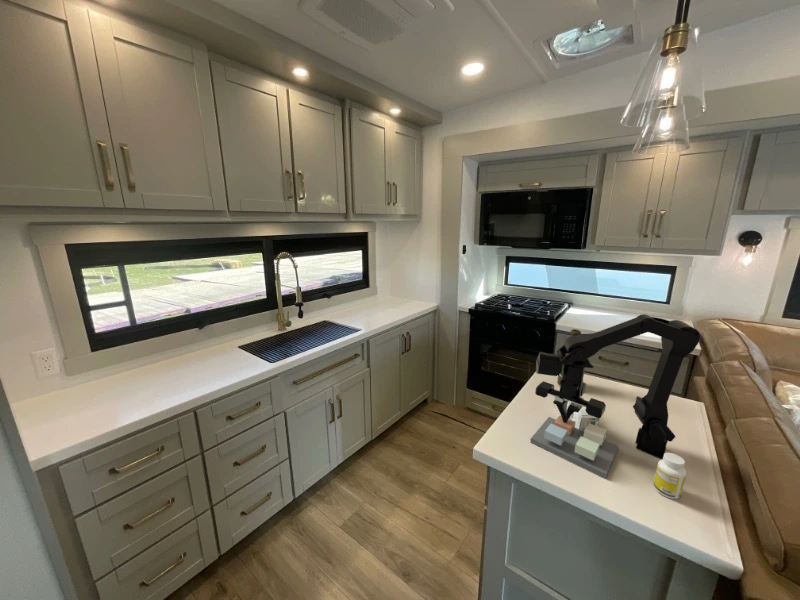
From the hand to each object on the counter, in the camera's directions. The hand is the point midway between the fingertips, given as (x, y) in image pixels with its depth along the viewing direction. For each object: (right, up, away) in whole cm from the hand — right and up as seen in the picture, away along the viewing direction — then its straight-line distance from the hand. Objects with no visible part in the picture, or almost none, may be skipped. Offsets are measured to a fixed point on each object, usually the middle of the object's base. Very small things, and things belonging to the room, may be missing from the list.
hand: (565, 422), depth 101 cm
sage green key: (0, -4, -11) cm, 12 cm away
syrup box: (+9, +3, +15) cm, 17 cm away
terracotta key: (0, -2, +1) cm, 2 cm away
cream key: (+6, -3, -5) cm, 8 cm away
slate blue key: (-6, -3, -6) cm, 8 cm away
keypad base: (0, -5, -5) cm, 7 cm away
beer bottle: (+16, +3, +30) cm, 34 cm away
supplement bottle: (+15, -10, -20) cm, 27 cm away
